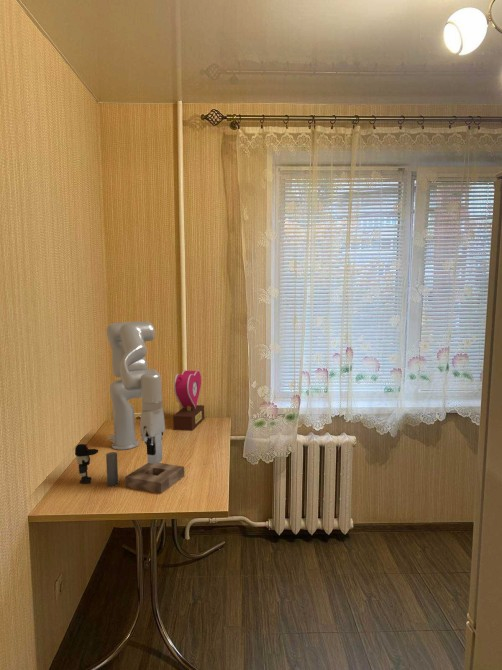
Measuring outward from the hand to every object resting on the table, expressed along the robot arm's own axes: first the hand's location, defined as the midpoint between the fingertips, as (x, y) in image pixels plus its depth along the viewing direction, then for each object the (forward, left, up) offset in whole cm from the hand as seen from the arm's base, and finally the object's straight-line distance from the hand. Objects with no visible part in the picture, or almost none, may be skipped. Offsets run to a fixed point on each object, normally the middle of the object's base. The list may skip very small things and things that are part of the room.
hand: (154, 452), depth 179 cm
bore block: (0, 0, -12) cm, 12 cm away
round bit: (-14, -8, -12) cm, 20 cm away
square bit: (0, 0, -4) cm, 4 cm away
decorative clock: (-25, +67, -12) cm, 73 cm away
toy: (-25, -9, -12) cm, 29 cm away
